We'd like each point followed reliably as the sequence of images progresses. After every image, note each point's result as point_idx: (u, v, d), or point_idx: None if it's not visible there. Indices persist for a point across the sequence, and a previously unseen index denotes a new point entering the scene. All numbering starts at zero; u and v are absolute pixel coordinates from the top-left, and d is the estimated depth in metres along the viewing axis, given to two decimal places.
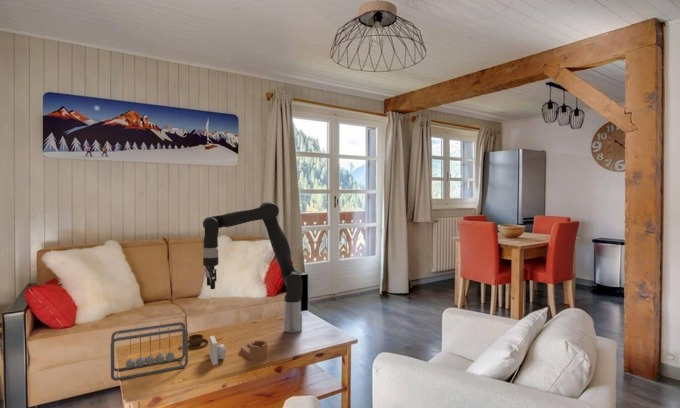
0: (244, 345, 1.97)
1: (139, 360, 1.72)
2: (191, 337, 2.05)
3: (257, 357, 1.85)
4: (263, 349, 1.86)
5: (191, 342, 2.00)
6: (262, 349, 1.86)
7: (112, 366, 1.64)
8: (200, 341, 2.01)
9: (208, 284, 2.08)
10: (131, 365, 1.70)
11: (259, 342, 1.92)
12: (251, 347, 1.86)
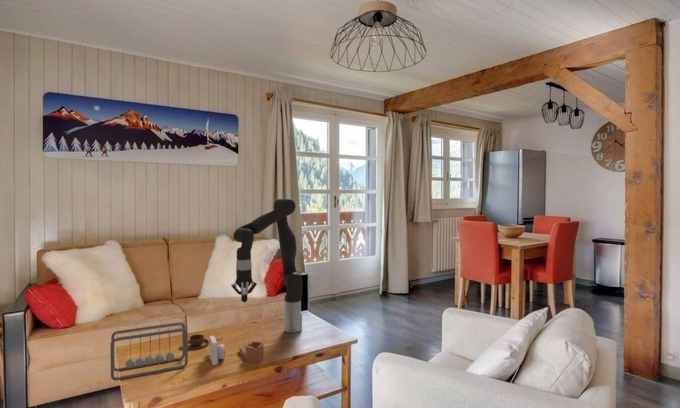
0: (243, 345, 1.97)
1: (139, 360, 1.72)
2: (192, 337, 2.04)
3: (252, 358, 1.84)
4: (258, 350, 1.85)
5: (192, 342, 2.00)
6: (257, 350, 1.84)
7: (112, 366, 1.64)
8: (201, 341, 2.01)
9: None
10: (131, 365, 1.70)
11: (256, 343, 1.91)
12: (246, 348, 1.85)
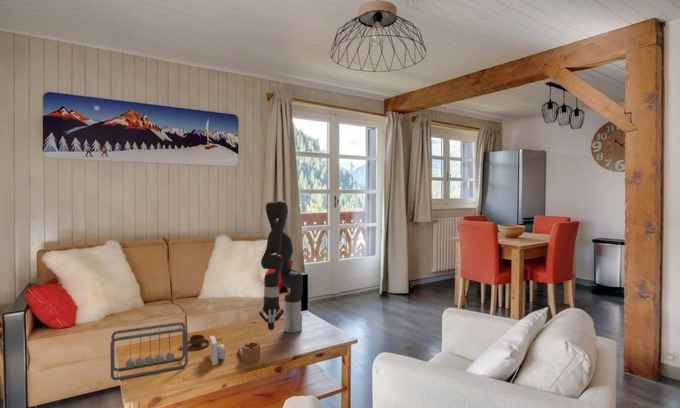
0: None
1: (139, 360, 1.72)
2: (192, 337, 2.04)
3: (247, 359, 1.83)
4: (254, 351, 1.83)
5: (192, 342, 1.99)
6: (252, 351, 1.83)
7: (112, 366, 1.64)
8: (201, 342, 2.00)
9: None
10: (131, 365, 1.70)
11: (253, 344, 1.90)
12: (242, 348, 1.85)
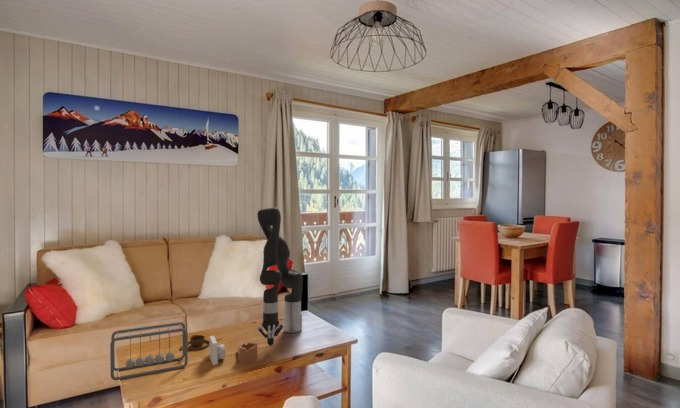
0: None
1: (139, 360, 1.72)
2: (193, 338, 2.04)
3: (244, 359, 1.83)
4: (250, 352, 1.83)
5: (192, 343, 1.99)
6: (249, 352, 1.83)
7: (112, 366, 1.64)
8: (201, 342, 2.00)
9: None
10: (131, 365, 1.70)
11: (251, 344, 1.89)
12: (239, 348, 1.84)
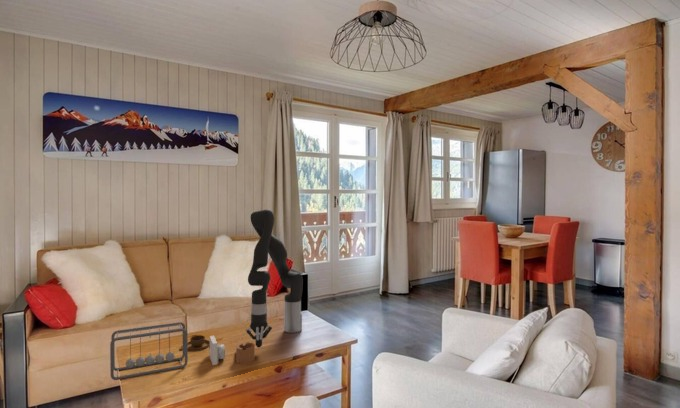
0: None
1: (139, 360, 1.72)
2: (193, 338, 2.03)
3: (240, 359, 1.82)
4: (246, 352, 1.82)
5: (192, 343, 1.99)
6: (245, 352, 1.82)
7: (112, 366, 1.64)
8: (201, 342, 2.00)
9: None
10: (131, 365, 1.71)
11: (249, 345, 1.89)
12: (236, 348, 1.84)
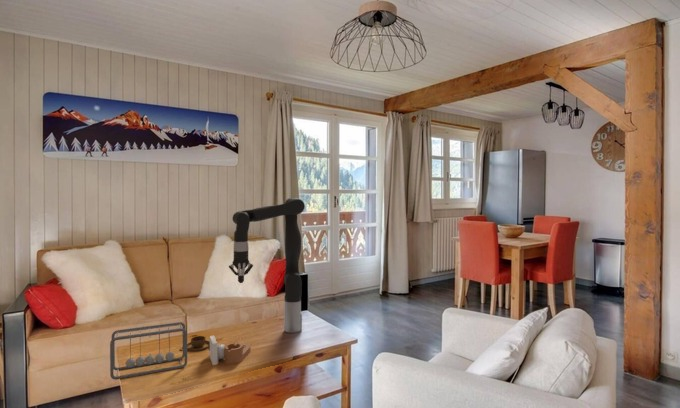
0: None
1: (139, 359, 1.73)
2: (194, 338, 2.03)
3: (226, 359, 1.83)
4: (231, 353, 1.81)
5: (192, 344, 1.98)
6: (230, 352, 1.81)
7: (111, 365, 1.65)
8: (201, 343, 1.99)
9: None
10: (131, 364, 1.71)
11: (239, 345, 1.88)
12: None
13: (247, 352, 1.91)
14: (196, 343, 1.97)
